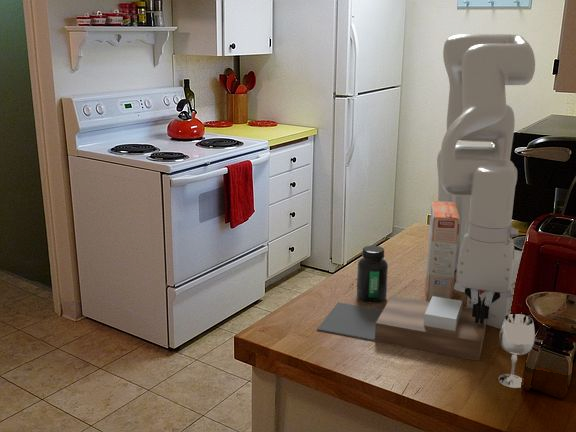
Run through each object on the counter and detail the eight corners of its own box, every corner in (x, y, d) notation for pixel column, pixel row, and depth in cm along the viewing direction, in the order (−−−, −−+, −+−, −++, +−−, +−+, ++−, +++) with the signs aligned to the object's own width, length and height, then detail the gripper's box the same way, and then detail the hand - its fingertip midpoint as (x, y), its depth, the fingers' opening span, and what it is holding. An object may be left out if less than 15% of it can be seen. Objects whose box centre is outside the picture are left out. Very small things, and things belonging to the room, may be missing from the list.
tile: (431, 307, 127) (432, 296, 127) (461, 311, 125) (462, 300, 125) (423, 325, 120) (424, 313, 119) (455, 331, 117) (456, 319, 117)
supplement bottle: (378, 306, 137) (381, 256, 134) (351, 299, 141) (353, 250, 137) (390, 295, 143) (393, 247, 139) (364, 289, 146) (366, 242, 143)
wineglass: (489, 373, 110) (495, 312, 107) (519, 371, 111) (527, 311, 107) (502, 391, 105) (509, 327, 101) (534, 389, 105) (543, 326, 102)
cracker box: (452, 307, 136) (460, 218, 130) (425, 305, 138) (431, 216, 132) (449, 283, 150) (456, 201, 144) (424, 281, 151) (430, 199, 145)
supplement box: (464, 318, 132) (470, 252, 127) (482, 304, 138) (489, 242, 134) (504, 331, 126) (512, 263, 121) (522, 317, 132) (530, 252, 128)
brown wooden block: (390, 312, 134) (391, 295, 133) (485, 328, 127) (487, 311, 126) (374, 341, 122) (375, 322, 121) (479, 360, 114) (480, 341, 113)
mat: (337, 303, 139) (337, 302, 138) (390, 312, 134) (390, 311, 134) (317, 330, 126) (317, 328, 126) (373, 340, 122) (373, 339, 122)
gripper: (531, 230, 115) (520, 319, 120) (450, 221, 120) (443, 307, 126) (531, 243, 108) (519, 336, 114) (445, 233, 114) (438, 322, 119)
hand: (479, 320), depth 120 cm, fingers closed
